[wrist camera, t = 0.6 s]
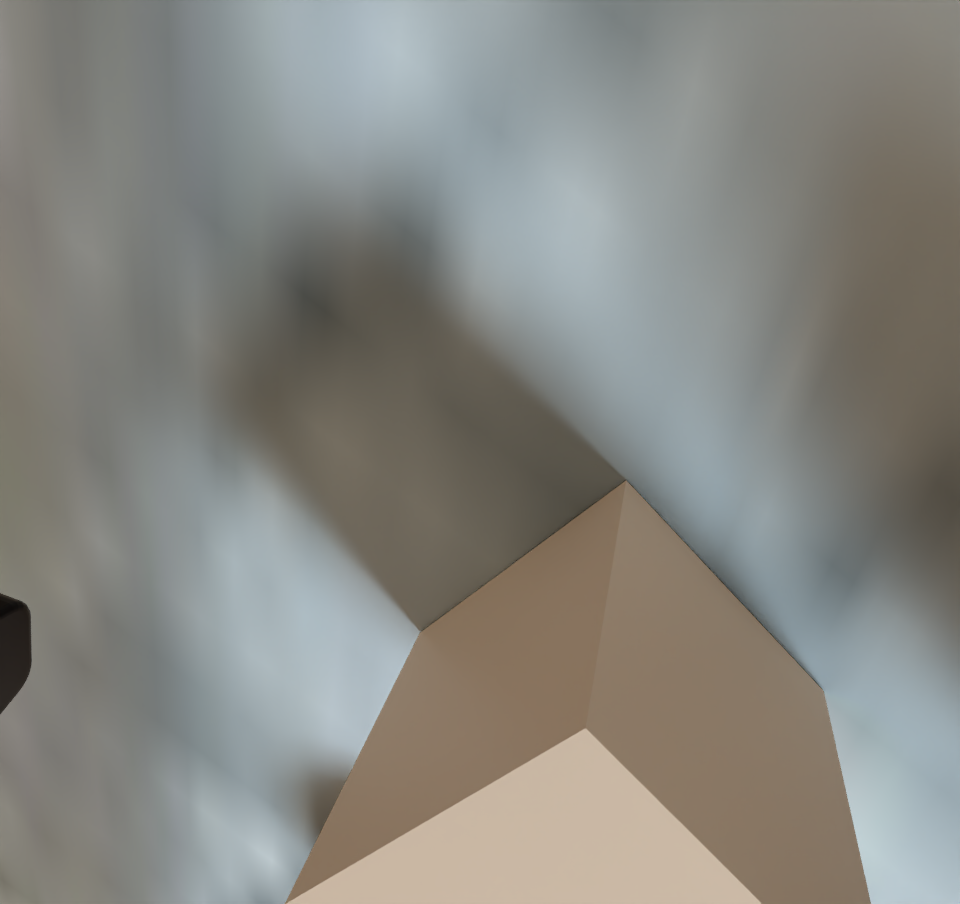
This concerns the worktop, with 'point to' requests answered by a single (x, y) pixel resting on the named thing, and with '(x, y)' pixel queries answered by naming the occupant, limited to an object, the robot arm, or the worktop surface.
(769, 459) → the worktop surface
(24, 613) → the robot arm
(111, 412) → the worktop surface
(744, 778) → the beige cardboard box
